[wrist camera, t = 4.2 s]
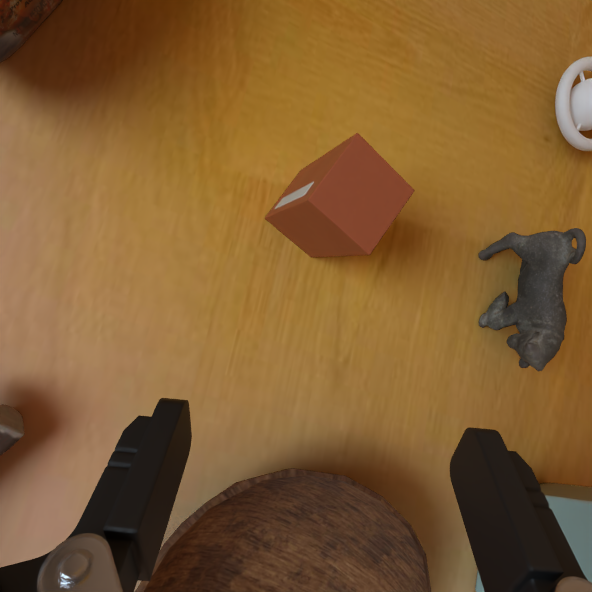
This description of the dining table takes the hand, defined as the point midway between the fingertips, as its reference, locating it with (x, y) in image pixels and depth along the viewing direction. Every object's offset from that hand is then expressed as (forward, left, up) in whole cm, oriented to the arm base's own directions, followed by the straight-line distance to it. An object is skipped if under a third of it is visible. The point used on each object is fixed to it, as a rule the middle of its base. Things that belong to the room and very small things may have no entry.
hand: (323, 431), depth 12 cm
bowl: (+9, -17, -18) cm, 27 cm away
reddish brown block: (+3, +10, -18) cm, 21 cm away
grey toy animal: (+23, +9, -18) cm, 31 cm away
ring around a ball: (+25, +28, -18) cm, 42 cm away
